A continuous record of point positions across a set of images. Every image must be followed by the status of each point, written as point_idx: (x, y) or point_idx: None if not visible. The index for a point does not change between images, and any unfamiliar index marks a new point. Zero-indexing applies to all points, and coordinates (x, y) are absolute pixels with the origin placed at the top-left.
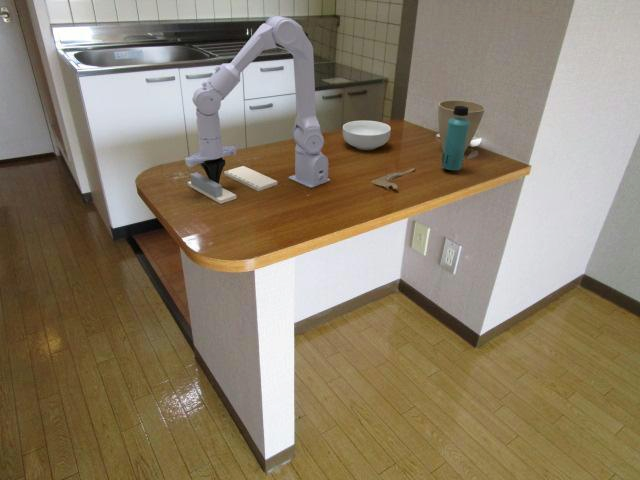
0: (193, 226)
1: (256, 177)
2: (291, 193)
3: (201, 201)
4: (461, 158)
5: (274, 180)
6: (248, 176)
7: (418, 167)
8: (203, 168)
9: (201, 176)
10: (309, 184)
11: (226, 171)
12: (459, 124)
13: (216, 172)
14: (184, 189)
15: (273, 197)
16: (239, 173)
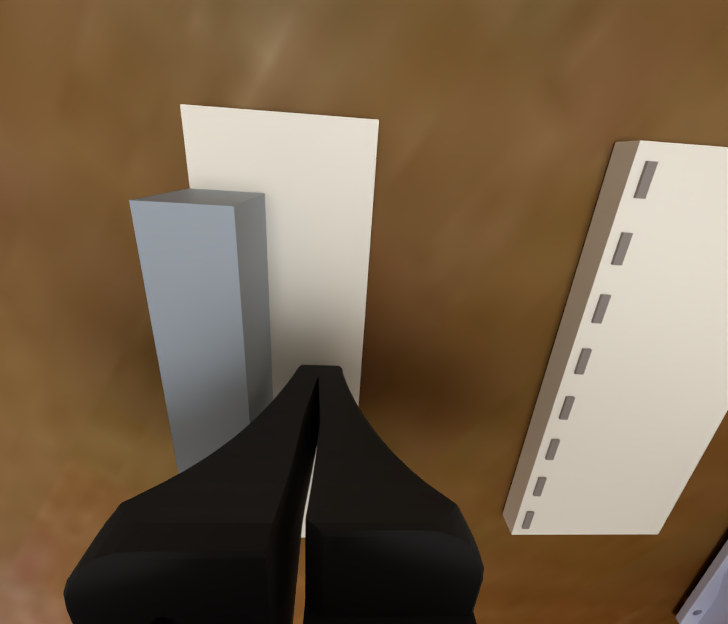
0: (4, 592)
1: (652, 428)
2: (576, 602)
3: (159, 425)
4: None
5: (661, 519)
6: (641, 381)
7: None
8: (204, 461)
9: (219, 357)
10: (703, 612)
11: (647, 166)
12: None
13: (298, 561)
14: (133, 162)
15: (489, 589)
16: (664, 288)
